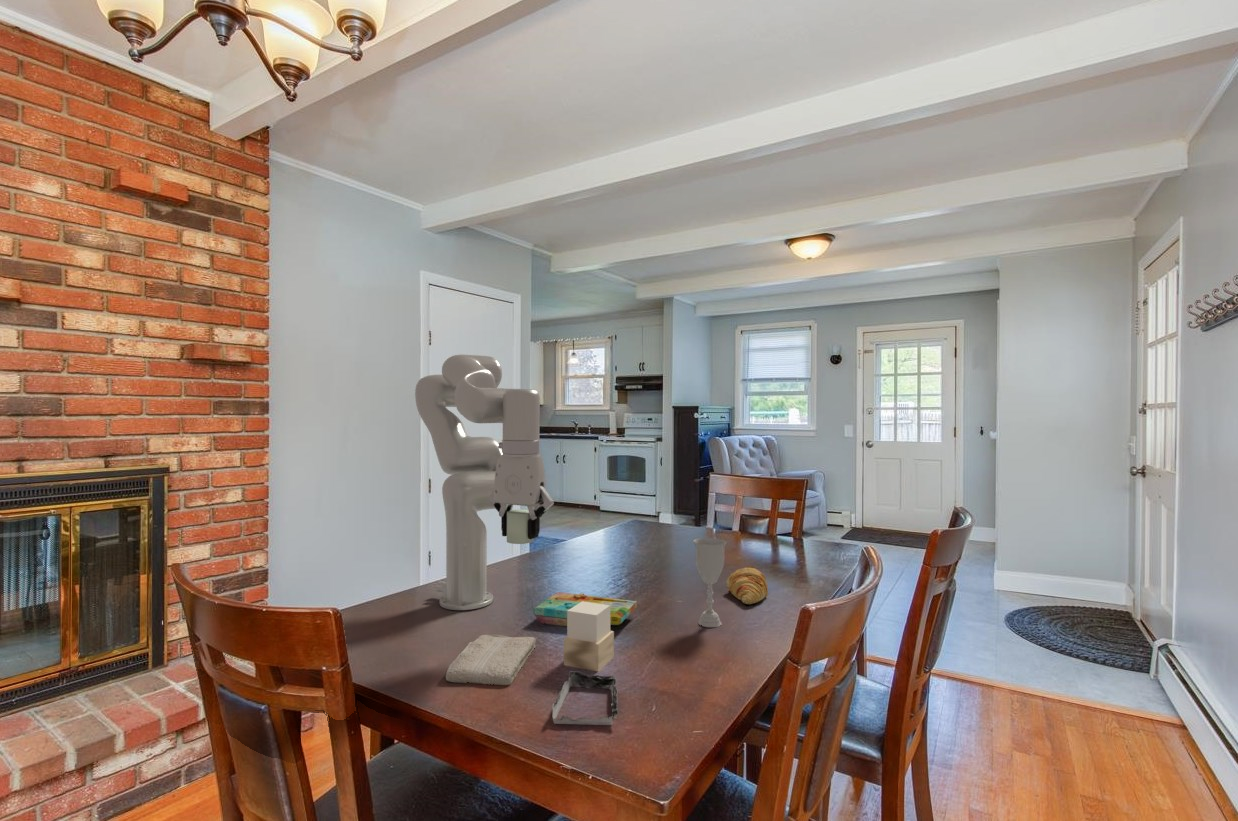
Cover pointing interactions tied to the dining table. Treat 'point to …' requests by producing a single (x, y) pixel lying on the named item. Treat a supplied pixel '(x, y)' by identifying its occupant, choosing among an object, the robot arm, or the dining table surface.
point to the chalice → (709, 573)
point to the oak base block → (589, 652)
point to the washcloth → (491, 660)
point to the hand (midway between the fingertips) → (520, 535)
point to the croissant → (748, 585)
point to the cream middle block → (588, 621)
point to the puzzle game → (562, 602)
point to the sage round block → (518, 526)
